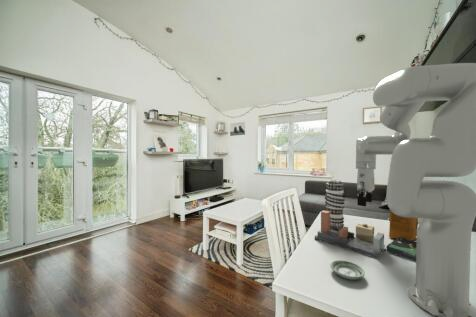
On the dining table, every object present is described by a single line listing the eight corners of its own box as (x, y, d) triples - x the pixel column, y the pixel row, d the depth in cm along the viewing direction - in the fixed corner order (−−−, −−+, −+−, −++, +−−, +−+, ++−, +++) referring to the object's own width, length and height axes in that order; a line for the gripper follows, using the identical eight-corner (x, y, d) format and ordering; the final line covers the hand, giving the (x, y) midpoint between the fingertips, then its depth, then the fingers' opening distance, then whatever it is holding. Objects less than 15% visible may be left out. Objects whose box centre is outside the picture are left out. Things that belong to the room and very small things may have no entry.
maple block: (371, 243, 86) (371, 227, 86) (355, 239, 90) (355, 224, 90) (374, 239, 89) (374, 224, 89) (358, 236, 94) (359, 221, 94)
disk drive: (398, 243, 88) (385, 252, 79) (398, 236, 88) (386, 245, 79) (431, 252, 79) (420, 264, 70) (431, 245, 79) (420, 256, 70)
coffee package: (421, 238, 91) (422, 190, 90) (413, 245, 84) (414, 193, 83) (395, 231, 99) (395, 187, 98) (385, 237, 92) (385, 189, 91)
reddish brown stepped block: (342, 241, 84) (342, 217, 84) (318, 234, 91) (319, 212, 91) (348, 236, 89) (348, 213, 89) (325, 230, 96) (325, 209, 96)
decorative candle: (348, 233, 96) (349, 181, 96) (329, 233, 96) (329, 182, 96) (339, 226, 105) (339, 179, 105) (321, 226, 105) (321, 179, 105)
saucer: (334, 263, 71) (334, 256, 71) (366, 273, 65) (366, 266, 65) (326, 276, 63) (326, 268, 63) (362, 289, 57) (362, 280, 57)
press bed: (378, 258, 73) (378, 241, 73) (314, 238, 90) (314, 224, 90) (384, 248, 81) (384, 232, 81) (324, 232, 98) (324, 219, 98)
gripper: (370, 167, 80) (369, 209, 81) (379, 164, 93) (379, 201, 93) (350, 166, 86) (349, 205, 86) (361, 164, 98) (360, 198, 99)
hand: (364, 203), depth 90 cm, fingers open, 9 cm apart
